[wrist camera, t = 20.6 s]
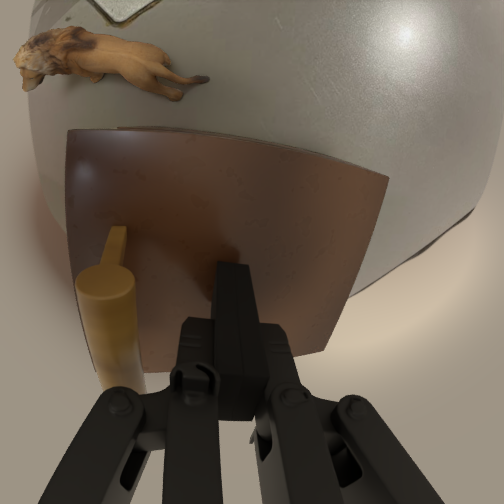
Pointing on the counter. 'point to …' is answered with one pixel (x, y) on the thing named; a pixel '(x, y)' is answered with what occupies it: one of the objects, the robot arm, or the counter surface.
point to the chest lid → (206, 239)
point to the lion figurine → (97, 60)
